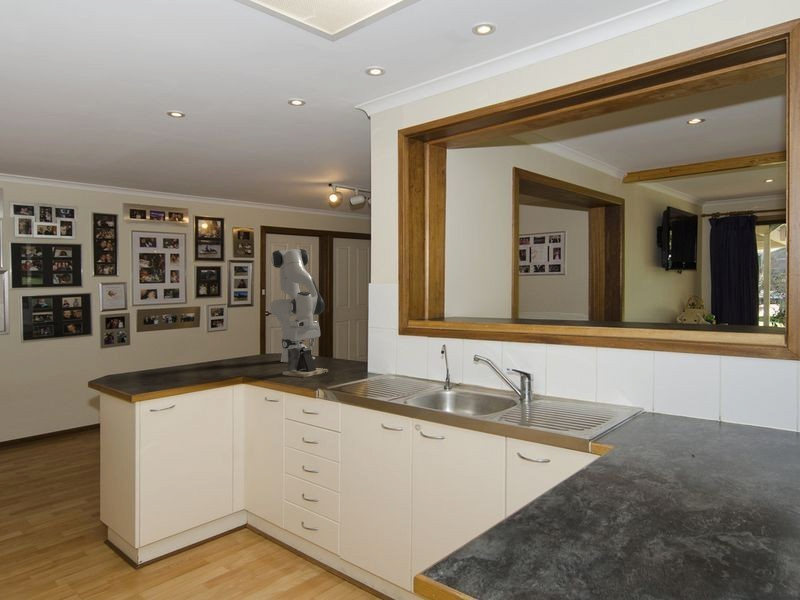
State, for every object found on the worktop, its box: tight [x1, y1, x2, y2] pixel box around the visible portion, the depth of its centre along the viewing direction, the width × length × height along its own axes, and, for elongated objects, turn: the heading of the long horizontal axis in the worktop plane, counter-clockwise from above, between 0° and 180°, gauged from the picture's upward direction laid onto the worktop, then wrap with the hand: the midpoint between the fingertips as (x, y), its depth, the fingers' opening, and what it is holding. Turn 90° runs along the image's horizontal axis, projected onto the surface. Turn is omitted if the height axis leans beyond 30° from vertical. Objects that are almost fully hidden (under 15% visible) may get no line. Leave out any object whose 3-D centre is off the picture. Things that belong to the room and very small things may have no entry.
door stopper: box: [296, 347, 317, 372], centre depth 288 cm, size 9×6×12 cm, turn 59°
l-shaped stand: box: [282, 347, 329, 378], centre depth 288 cm, size 18×16×14 cm
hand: (305, 347), depth 288 cm, fingers open, 8 cm apart
